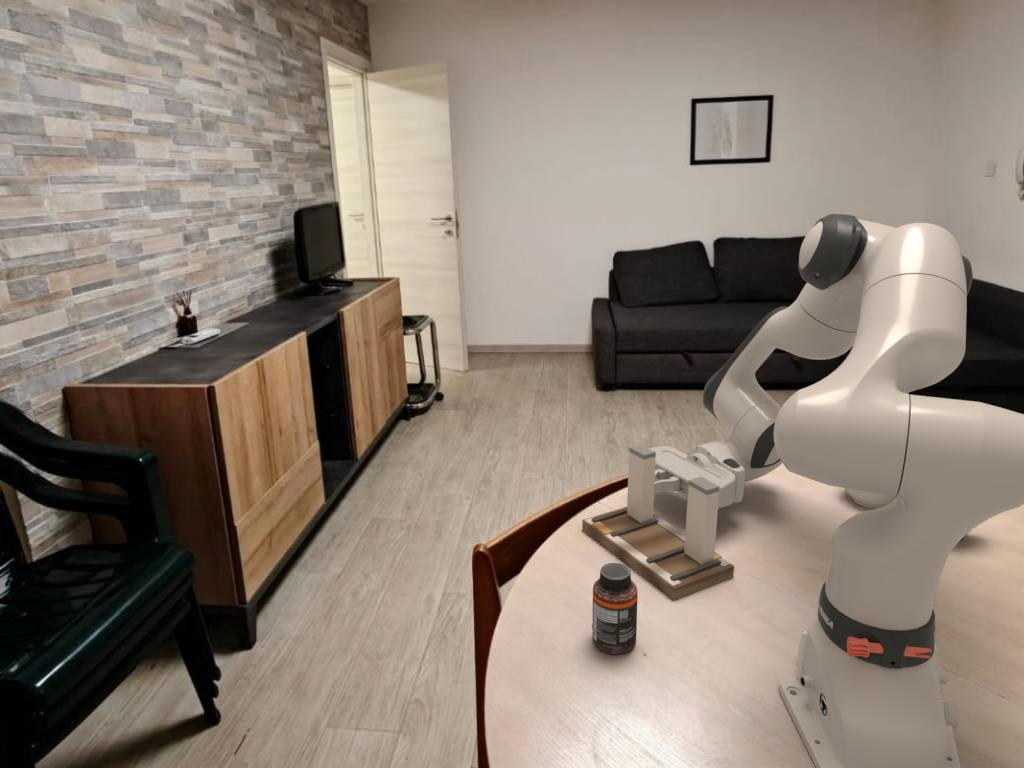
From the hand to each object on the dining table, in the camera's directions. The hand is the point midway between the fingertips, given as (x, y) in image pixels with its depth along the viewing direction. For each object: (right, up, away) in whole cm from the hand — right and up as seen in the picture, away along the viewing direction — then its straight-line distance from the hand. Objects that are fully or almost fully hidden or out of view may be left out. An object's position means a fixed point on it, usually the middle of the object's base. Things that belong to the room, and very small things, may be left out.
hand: (648, 485), depth 127 cm
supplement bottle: (-10, -18, -27) cm, 34 cm away
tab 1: (-1, -6, +1) cm, 6 cm away
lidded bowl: (+44, -4, +10) cm, 45 cm away
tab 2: (+6, -10, -11) cm, 16 cm away
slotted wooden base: (0, -10, -6) cm, 12 cm away
